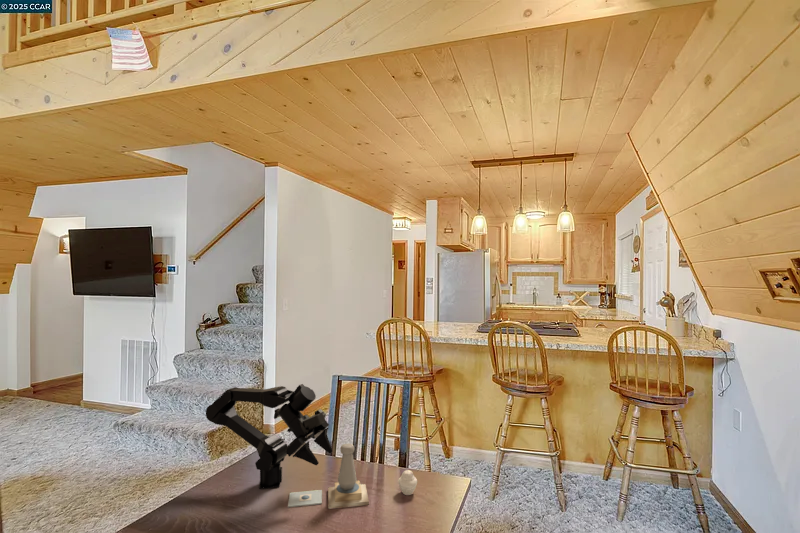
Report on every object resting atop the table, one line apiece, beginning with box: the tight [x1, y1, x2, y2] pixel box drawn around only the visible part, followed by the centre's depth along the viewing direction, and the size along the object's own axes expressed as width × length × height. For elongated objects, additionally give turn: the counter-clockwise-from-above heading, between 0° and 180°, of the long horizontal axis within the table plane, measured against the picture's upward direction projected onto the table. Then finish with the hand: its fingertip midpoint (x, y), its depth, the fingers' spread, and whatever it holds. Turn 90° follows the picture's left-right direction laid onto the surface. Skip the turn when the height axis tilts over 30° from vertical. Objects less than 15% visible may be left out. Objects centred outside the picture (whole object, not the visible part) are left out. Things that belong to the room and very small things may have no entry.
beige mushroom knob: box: [337, 443, 358, 490], centre depth 132 cm, size 6×6×13 cm
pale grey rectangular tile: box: [287, 489, 323, 508], centre depth 130 cm, size 10×8×1 cm
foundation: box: [327, 480, 370, 510], centre depth 131 cm, size 12×11×3 cm
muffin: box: [397, 469, 418, 496], centre depth 134 cm, size 6×6×7 cm
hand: (324, 458), depth 134 cm, fingers open, 9 cm apart
